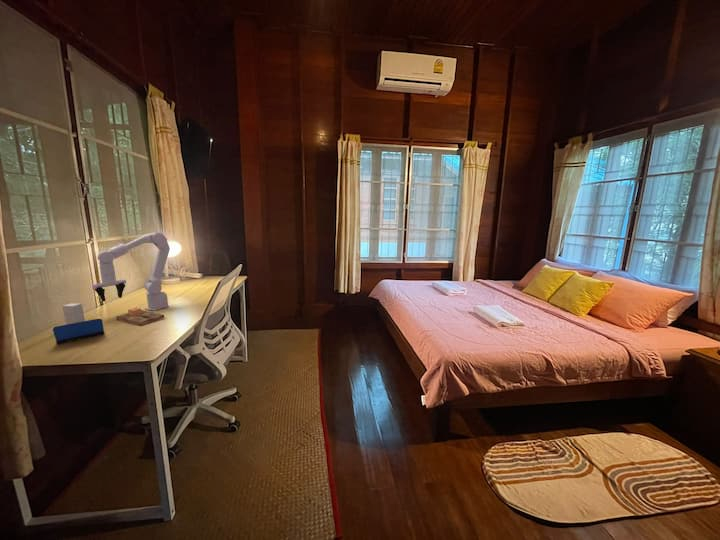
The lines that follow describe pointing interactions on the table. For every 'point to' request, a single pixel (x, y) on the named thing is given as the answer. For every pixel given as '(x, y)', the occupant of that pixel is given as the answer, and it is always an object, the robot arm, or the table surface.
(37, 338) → the table surface
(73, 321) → the skincare box
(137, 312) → the square bit
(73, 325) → the blue box
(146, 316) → the socket block
